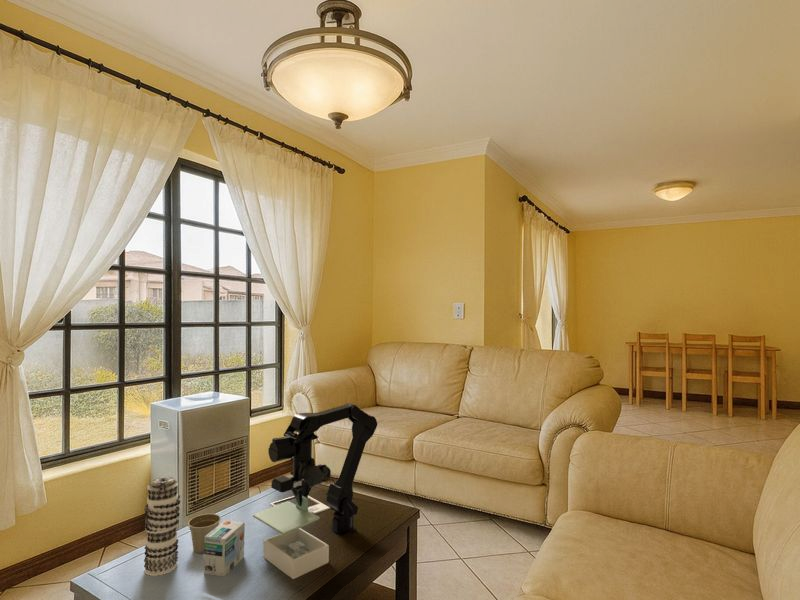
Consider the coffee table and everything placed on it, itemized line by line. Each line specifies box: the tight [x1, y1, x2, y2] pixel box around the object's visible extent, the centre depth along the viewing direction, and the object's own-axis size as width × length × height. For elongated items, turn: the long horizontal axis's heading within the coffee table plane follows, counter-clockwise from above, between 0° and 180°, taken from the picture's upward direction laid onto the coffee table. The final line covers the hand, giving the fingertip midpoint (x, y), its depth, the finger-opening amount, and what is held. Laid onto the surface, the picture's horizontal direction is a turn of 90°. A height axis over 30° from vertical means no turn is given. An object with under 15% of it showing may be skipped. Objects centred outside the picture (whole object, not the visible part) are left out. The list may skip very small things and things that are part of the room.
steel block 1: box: [286, 540, 305, 555], centre depth 140 cm, size 4×4×2 cm
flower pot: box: [187, 513, 222, 554], centre depth 143 cm, size 9×9×9 cm
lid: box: [252, 496, 320, 535], centre depth 140 cm, size 13×17×5 cm
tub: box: [262, 527, 330, 580], centre depth 136 cm, size 12×16×6 cm
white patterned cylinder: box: [143, 476, 181, 577], centre depth 132 cm, size 9×9×25 cm
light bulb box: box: [203, 519, 246, 577], centre depth 133 cm, size 11×7×11 cm, turn 168°
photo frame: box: [269, 495, 331, 515], centre depth 173 cm, size 15×1×18 cm
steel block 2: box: [290, 552, 303, 559], centre depth 133 cm, size 4×4×2 cm
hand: (301, 505), depth 144 cm, fingers closed on lid
